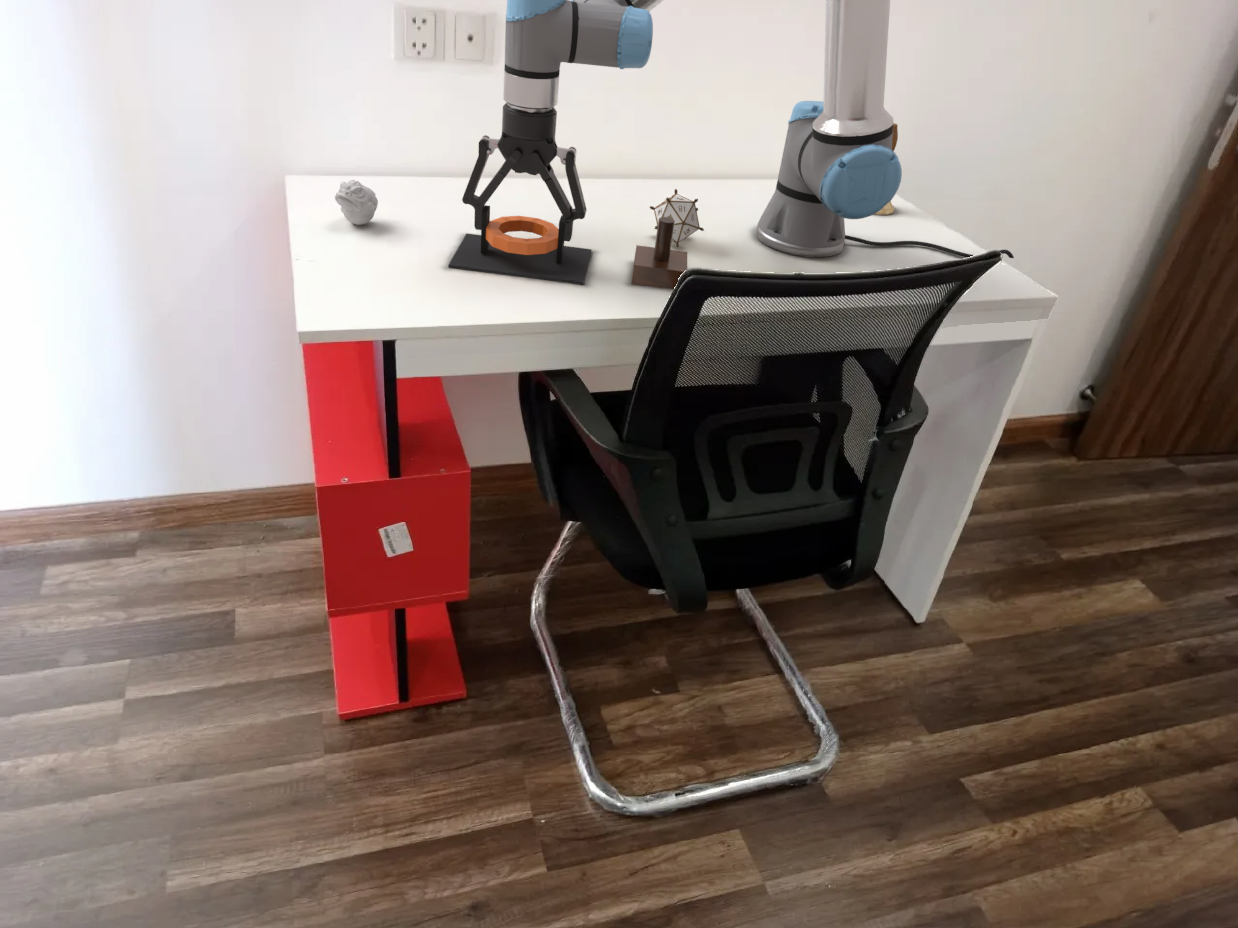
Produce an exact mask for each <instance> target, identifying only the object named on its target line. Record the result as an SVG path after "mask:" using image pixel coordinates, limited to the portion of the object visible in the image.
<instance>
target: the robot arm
mask: <svg viewBox="0 0 1238 928" xmlns="http://www.w3.org/2000/svg"><path fill="white" fill-rule="evenodd" d="M663 1H664V0H507V1H506V12H505V28H504V29H505V31H504V35H505V36H504V68H503V87H502V88H503V90H502V91H503V92H502V100H503V101H504V102H505V103H504V104H503V106H502V118H501V119H502V120H501V135H500V137H499V138H498V139H497V138H490V136H488V135H487V134H486V135H485V134H484V135H483V136H482V137H481V138H480V140H479V141H478V156H477V159H476V161H475V164H474V167H473V169H472V171H471V174H470V177H469V180H468V182H467V185H466V188H465V190H464V193H463V196H462V199H461V201H462V203H463V204H464V205H469V206H472V208H473V209H474V225H473V226H474V229H475V230H476V231H480V235H481V253H483V254H486V252H487V250H488V248H489V242H488V241H487V240H486V227H487V225H488V224H489V222H490V221H491V205H487V202H488V201H489V200H490V198H491V197H492V196H493V195H494V193H495V192H496V190H497V189H498V187H500V185H501V183H502V182H503V181H504V179H505V178H506V177H507V176H508V174H509V173H510V172H511V170H512V171H513V172H514V173H516V174H525V173H526V174H529V175H530V176H538V175H539V176H540V177H541V180H542V181H543V182H544V184H545V185H546V187H547V189H548V191H549V193H550V194H551V196H552V198H553V201H554V202H555V204H556V206H557V208H558V210H559V211H560V213H561V216H560V218H559V220H558V221H559V222H558V229H559V231H558V246H557V258H556V263H559V264H561V262H562V259H563V252H564V246H565V242H568V243H569V242H571V240H572V237H573V229H574V221H576V220H584V218H586V215H587V212H588V211H587V210H588V209H587V206H586V202H585V198H584V193H583V189H582V186H581V181H580V178H579V177H580V176H579V173H578V169H577V165H576V160H577V159H576V158H577V149H576V147H574V146H570V147H568V148H566V147H561V146H560V147H559V146H558V145H557V142H556V130H557V117H558V116H557V115H558V111H557V109H556V108H555V107H556V106H558V103H559V102H558V101H559V89H560V88H559V87H560V86H559V85H560V71H561V69H560V68H561V63H566V64H576V65H577V64H578V65H589V66H597V67H608V68H618V69H619V70H625V69H642V68H644V67H645V66H646V65H647V64H648V62H649V60H650V56H651V53H652V52H651V51H652V47H653V46H652V45H653V35H654V23H653V17H652V14H651V12H650V11H652V10H653V9H654V8H656V7H657V6H658V5H659V4H661V3H662V2H663ZM890 9H891V0H825V19H824V20H825V23H824V24H825V25H824V61H823V63H824V64H823V101H821V100H802V101H798V102H797V103H796V104H794V106H793V108H792V111H791V114H790V118H789V120H788V123H787V126H788V127H787V131H786V137H785V142H784V146H783V151H782V156H781V157H782V158H781V161H780V166H779V171H778V175H777V176H778V177H777V180H776V185H775V190H774V193H773V194H772V196H771V198H770V199H769V202H768V203H767V205H766V207H765V209H764V210H763V212H762V214H761V216H760V217H759V220H758V222H757V224H756V229H755V236H756V237H757V239H758V240H759V241H760V242H761V243H763V244H764V245H766V246H768V247H769V248H772V249H774V250H777V251H779V252H782V253H786V254H789V255H794V256H801V257H807V258H827V257H832V256H836V255H838V254H841V252H842V251H843V249H844V245H845V242H846V241H847V240H848V241H851V242H856V243H860V244H863V245H866V246H867V245H868V246H873V247H894V246H919V247H925V248H930V249H935V250H939V251H942V252H945V253H948V254H951V255H955V256H959V257H962V258H966V257H970V256H973V255H974V254H971V253H966V252H963V251H959V250H955V249H952V248H949V247H946V246H942V245H938V244H935V243H931V242H926V241H918V240H898V241H896V240H895V241H885V242H884V241H871V240H868V239H864V238H860V237H856V236H851V235H847V234H846V227H845V219H847V220H861V219H866V218H869V217H871V216H874V215H876V214H875V213H877V212H879V211H880V210H881V209H883V207H884V206H885V205H886V204H887V203H888V202H890V201H891V202H892V201H893V199H894V198H895V195H896V194H897V193H898V191H899V188H900V185H901V182H902V177H903V169H902V165H901V161H900V159H899V156H898V155H897V153H896V152H895V151H894V152H893V151H892V138H893V123H894V117H893V116H892V114H890V112H888V111H887V110H886V109H885V107H884V106H885V91H886V76H887V74H886V73H887V59H888V58H887V57H888V44H889V43H888V41H889V25H890ZM894 124H895V123H894ZM496 149H498V151H499V152H500V154H501V156H502V157H503V158H504V162H503V164H502V165H501V166H500V168H499V169H498V170H497V172H496V173H495V174H494V176H493V177H492V179H491V180H490V181H489V183H488V184H487V186H486V187H485V188H484V189H483V191H482V192H481V193H480V195H479V196H478V195H476V194H475V193H476V190H477V188H478V186H479V183H480V181H481V179H482V176H483V173H484V171H485V168H486V165H487V163H488V160H489V157H490V156H491V155H493V154H494V153H495V150H496ZM556 157H558V158H559V160H560V163H561V164H562V165H563V166H564V168H565V169H564V170H565V174H566V179H567V182H568V186H569V190H570V194H571V197H572V198H571V199H572V202H573V206H574V208H573V206H572V205H571V203H570V201H569V199H568V197H567V195H566V193H565V192H564V189H563V188H562V186H561V184H560V182H559V180H558V178H557V176H556V174H555V170H554V168H553V167H552V165H551V163H552V162H553V160H555V158H556ZM998 251H999V252H1001V253H1002V254H1001V255H1004V254H1005V255H1006V256H1007V257H1008V258H1010V259H1014V258H1015V256H1014V254H1013V253H1012V252H1011V251H1010V250H1008V249H999V250H998Z"/></svg>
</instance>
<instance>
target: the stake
mask: <svg viewBox="0 0 1238 928" xmlns="http://www.w3.org/2000/svg"><path fill="white" fill-rule="evenodd" d="M674 223H675V220H674V219H672V218H668V217H661V218H659V220H658V227H657V229H656V236H655V241H654V242H655V244H654V247H652V246H646V245H645V246H644V245H637V244H636V246H635V253H634V259H633V268H632V276H631V285H637V286H646V287H652V288H662V289H668V290H675V289H674V287H675V286H676V284H677V282H678V278H679V277H680V275H681V274H682V273H683V272H684V271H685V270H687V271H688V255H689V254H688V251H684V250H676V249H672V243H673V241H672V237H673V230H674Z"/></svg>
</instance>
